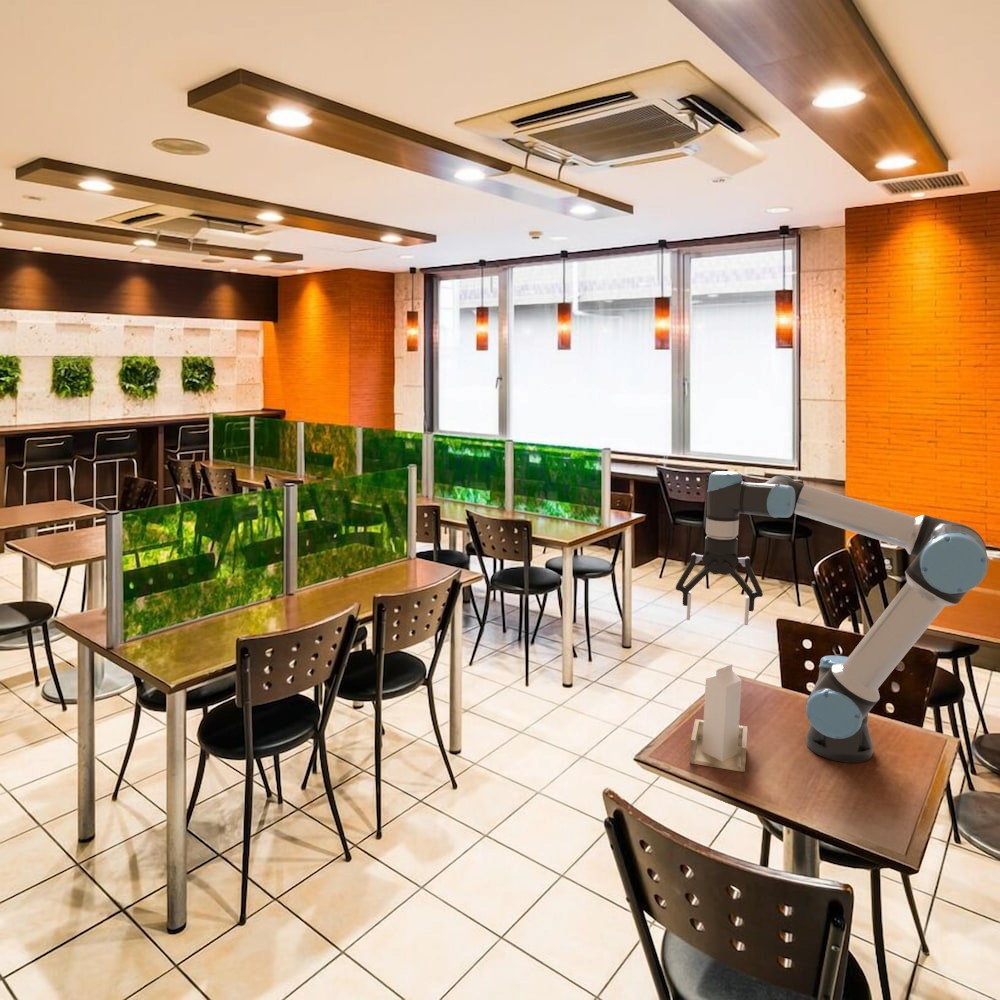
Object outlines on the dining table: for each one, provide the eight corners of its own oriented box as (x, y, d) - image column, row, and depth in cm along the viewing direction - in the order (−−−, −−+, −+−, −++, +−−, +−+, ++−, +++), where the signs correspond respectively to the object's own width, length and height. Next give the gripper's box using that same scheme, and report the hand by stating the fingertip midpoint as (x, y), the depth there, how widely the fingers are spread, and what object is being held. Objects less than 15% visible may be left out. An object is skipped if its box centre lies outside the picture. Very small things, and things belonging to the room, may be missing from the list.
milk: (701, 752, 188) (705, 665, 184) (717, 744, 191) (721, 660, 188) (722, 762, 183) (726, 673, 179) (738, 754, 187) (742, 667, 183)
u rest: (746, 749, 191) (747, 726, 190) (744, 772, 181) (746, 748, 180) (694, 741, 195) (695, 719, 194) (689, 763, 185) (691, 739, 184)
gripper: (775, 536, 186) (769, 620, 190) (669, 529, 193) (665, 611, 196) (777, 542, 179) (771, 630, 183) (667, 536, 186) (663, 621, 189)
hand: (716, 621), depth 190 cm, fingers open, 13 cm apart
